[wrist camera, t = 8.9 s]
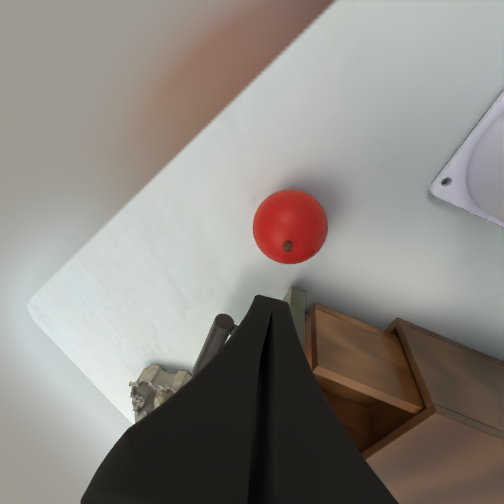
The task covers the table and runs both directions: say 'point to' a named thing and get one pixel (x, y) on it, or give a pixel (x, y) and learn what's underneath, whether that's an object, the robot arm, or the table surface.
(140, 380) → the egg carton
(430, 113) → the table surface
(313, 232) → the apple
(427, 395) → the cabinet
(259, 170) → the table surface
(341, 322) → the drawer
